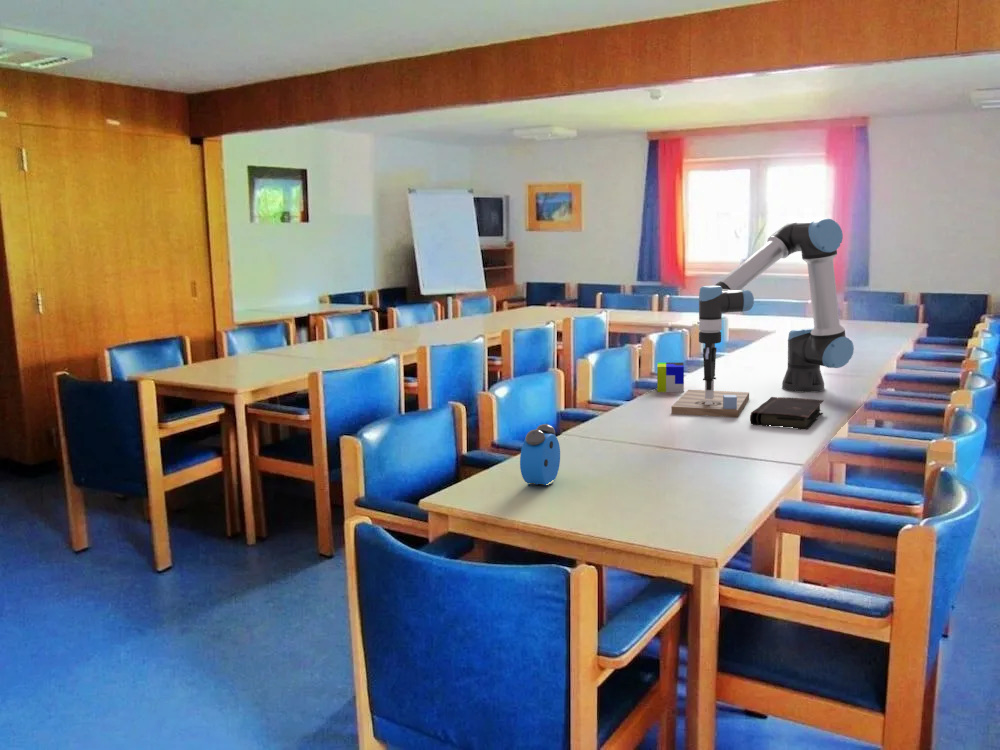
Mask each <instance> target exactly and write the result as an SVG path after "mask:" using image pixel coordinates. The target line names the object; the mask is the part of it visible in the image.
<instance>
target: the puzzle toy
mask: <svg viewBox="0 0 1000 750" xmlns="http://www.w3.org/2000/svg"><path fill="white" fill-rule="evenodd" d="M656 370H657V371H656V375H657V376H656V377H657V378H656V380H657V383H656V384H657V385H656V387H657V388H656V390H657V391H656V392H657V393H685V391H684V390H685V389H684V388H685V387H684V386H685V378H684V377H685V374H684V373H685V363H684V362H657V369H656Z"/></svg>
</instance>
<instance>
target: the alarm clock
mask: <svg viewBox="0 0 1000 750" xmlns="http://www.w3.org/2000/svg"><path fill="white" fill-rule="evenodd" d="M519 458H520V459H519V469H520V473H521V476H522V479H523V480H524V482H525V483H526V482H527V484H528V483H535V484H534V485H538V484H544V485H543V486H547V485H546V484H548V483H549V482H551V481H552V480H554V479H555V480H556V479H557V477H558V474H559V471H560V470H559V469H560V466H561V465H560V464H561V447H560V442H559V439H558V437H557V436H556V430H555V428H554V426H552V425H550V424H548V423H544V424H540V425H538V426H537V427H536V429H531V430H530V431H528V432H527V433H526V436H525V439H524V440H523V443H522V447H521V450H520V456H519ZM555 480H554V481H555Z"/></svg>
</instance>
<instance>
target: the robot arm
mask: <svg viewBox="0 0 1000 750" xmlns="http://www.w3.org/2000/svg"><path fill="white" fill-rule="evenodd" d="M843 237H844V235H843V231H842V228H841V226H840V224H839V223H838V222H836V221H835V219H832V218H828V217H827V218H826V217H812V218H811V217H809V218H797V219H794V220H792V221H790V222H789V223H786V224H785V225H784V226H782V227H781V228H779V229H778V230H776V231H775V232H774V233H772V234H771V235H770V236H769V237H768V238H767V240H766V241H767V242H766V243H765V244H763V245H762V246H761V247H760V248H758V250H756V251H755V252H754V253H753V254H751V255H750V256H749V257H748V258H746V259H745V260H744V261H743V262H742V263H740V264H739V265H738V266H737V267H735V268H734V269H733V270H731V272H729V273H728V274H727V275H726V276H724V277H723V278H722V279H720V281H718V282H717V283H715V284H714V285H704V286H701V287H700V288H699V293H698V321H697V325H698V331H699V332H698V342H699V343H700V344H705V345H704V348H703V349H702V353H703V354H702V358H703V378H702V381H705V382H704V390H705V399H713V398H714V391H715V385H714V384H715V380H717V377H715V376H716V356H717V349H718V348H717V347H716V344H720V343H721V342H722V332H721V331H722V330H723V329H722V323H723V321H722V319H723V317H722V315H723V314H725V313H739V312H740V313H743V312H748V311H751V309H753V306H754V305H755V303H754V300H755V298H754V294H753V293H752V291H750V290H749V289H744V288H746V287H747V286H749V285H750V283H752V282H753V281H754V280H756V279H757V278H759V276H761V275H762V274H763V273H764V272H766V271H767V270H768V269H770V268H771V267H772V266H773V265H775V263H777V262H778V261H780V260H781V259H786V258H787V257H789V256H790V255H792V254H794V253H797V252H801V259H802V260H803V261H805V262H806V263H807V271H808V280H809V281H808V282H809V290H810V299H811V308H812V309H811V310H812V318H813V328H800V329H792V330H790V331H789V332H788V339H787V369H786V371H785V374H784V377H783V380H782V384H781V389H783V390H786V391H789V392H796V393H800V392H801V393H814V392H816V393H817V392H821V391H822V392H823V391H824V390H825V380H824V378H823V375H822V372H821V366H822V367H825V368H828V369H840V368H842V367H844V366H845V365H847V364H848V363H849V362H850V360H851V359H852V358H853V355H854V350H855V347H854V343H853V341H852V340H850V338H849V337H847V336H846V330H845V327H844V326H843V325H841V323H840V317H839V315H840V313H839V305H838V296H837V287H836V277H835V266H834V265H835V264H834V259H835V257H836V256H837V255H838V249H839V248H840V247H841V243H842V242H843Z"/></svg>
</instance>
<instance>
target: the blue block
mask: <svg viewBox="0 0 1000 750" xmlns="http://www.w3.org/2000/svg"><path fill="white" fill-rule="evenodd" d="M723 407H724V409H737V397H736V395H723Z"/></svg>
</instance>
